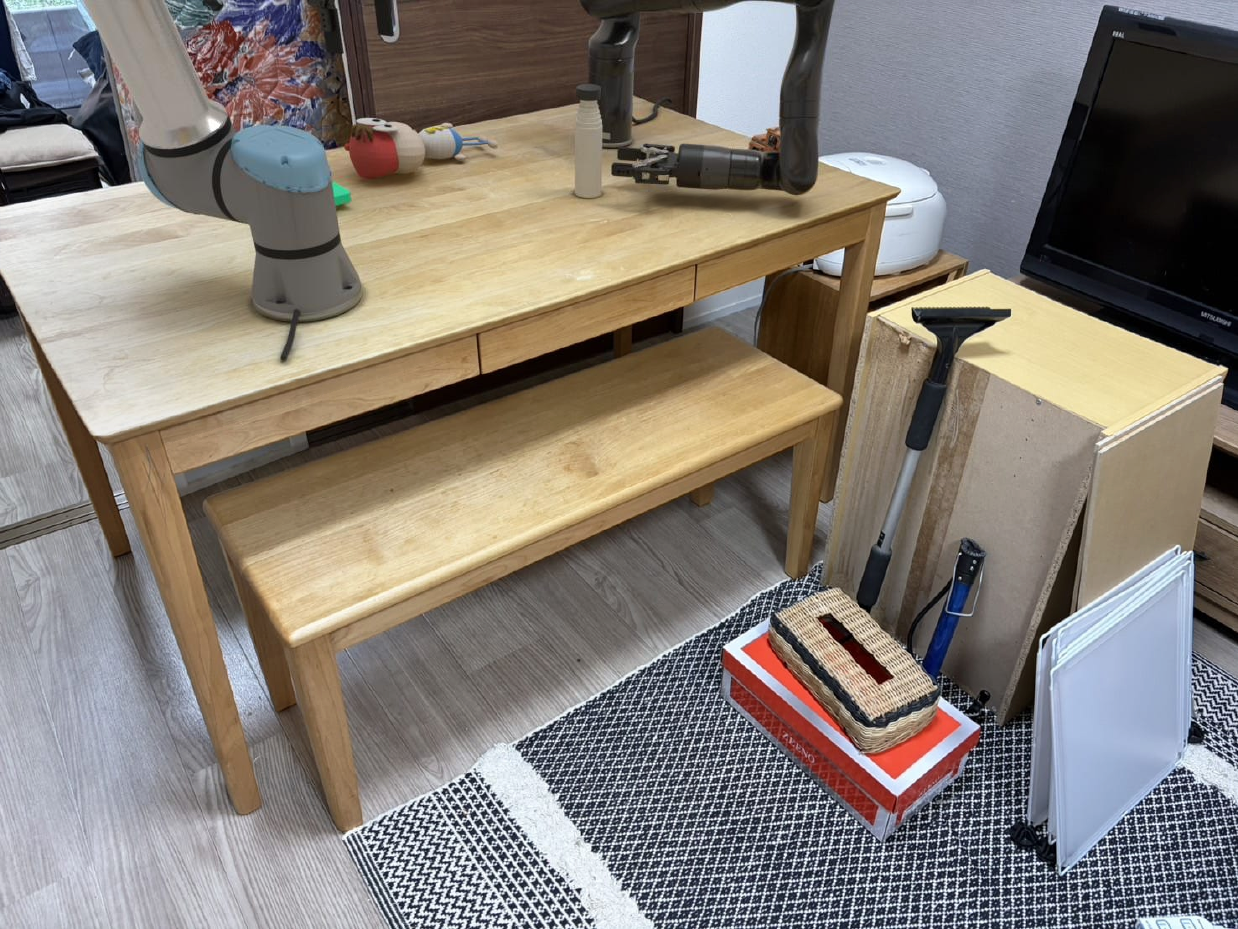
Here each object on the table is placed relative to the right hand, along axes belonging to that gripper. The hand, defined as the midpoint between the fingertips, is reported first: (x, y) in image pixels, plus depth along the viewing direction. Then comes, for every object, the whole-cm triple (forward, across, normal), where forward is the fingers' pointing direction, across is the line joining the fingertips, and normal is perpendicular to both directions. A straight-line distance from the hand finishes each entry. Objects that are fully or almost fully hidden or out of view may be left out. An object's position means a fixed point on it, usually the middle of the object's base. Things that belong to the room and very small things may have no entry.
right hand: (614, 161), depth 167 cm
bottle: (+5, 0, +6) cm, 8 cm away
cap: (+5, 0, -12) cm, 13 cm away
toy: (+38, -9, +6) cm, 40 cm away
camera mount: (+51, +14, +6) cm, 53 cm away
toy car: (-30, -23, +6) cm, 38 cm away
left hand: (+41, +8, -19) cm, 46 cm away
